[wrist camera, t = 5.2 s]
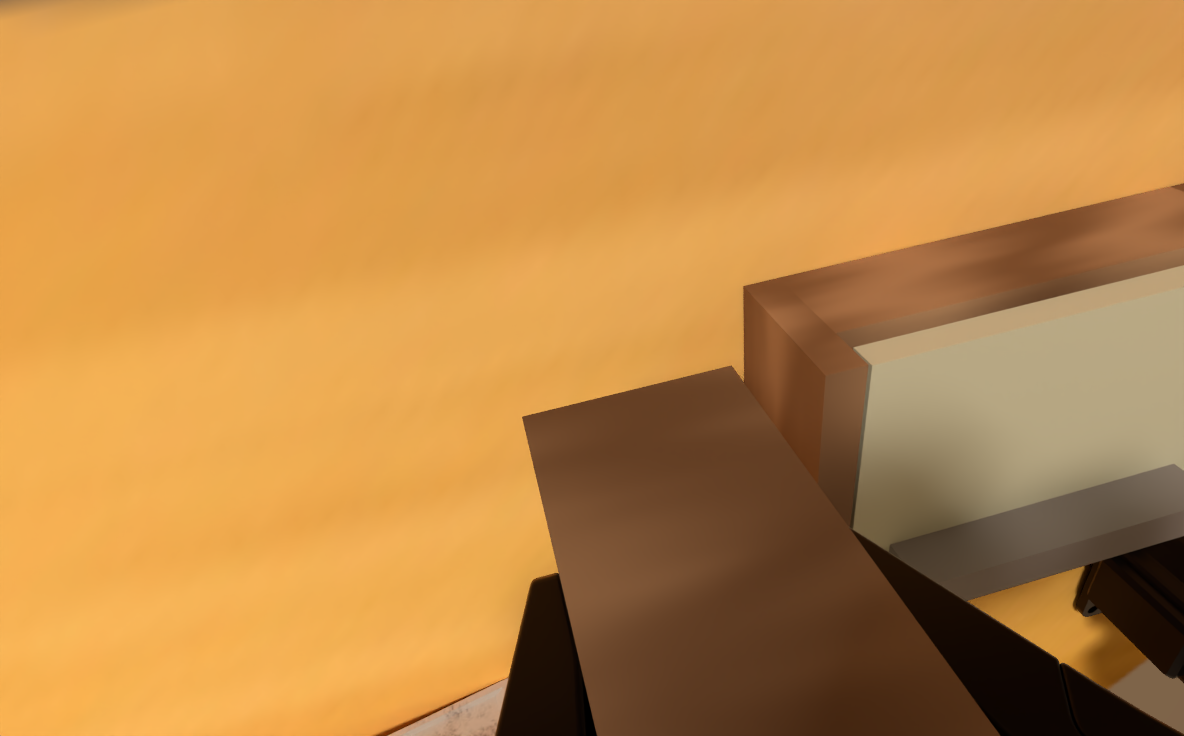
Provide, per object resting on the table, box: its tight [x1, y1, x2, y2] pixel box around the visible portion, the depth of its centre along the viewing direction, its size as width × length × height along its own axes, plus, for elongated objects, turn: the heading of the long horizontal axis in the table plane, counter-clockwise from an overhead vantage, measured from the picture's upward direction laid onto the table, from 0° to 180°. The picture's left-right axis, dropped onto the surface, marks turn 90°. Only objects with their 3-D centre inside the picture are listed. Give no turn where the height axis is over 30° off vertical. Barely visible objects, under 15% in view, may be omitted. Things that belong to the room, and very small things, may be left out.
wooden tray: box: [744, 184, 1184, 527], centre depth 20 cm, size 14×9×4 cm, turn 98°
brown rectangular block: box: [522, 366, 1000, 736], centre depth 8 cm, size 3×3×7 cm
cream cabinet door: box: [850, 265, 1184, 601], centre depth 18 cm, size 11×8×2 cm
